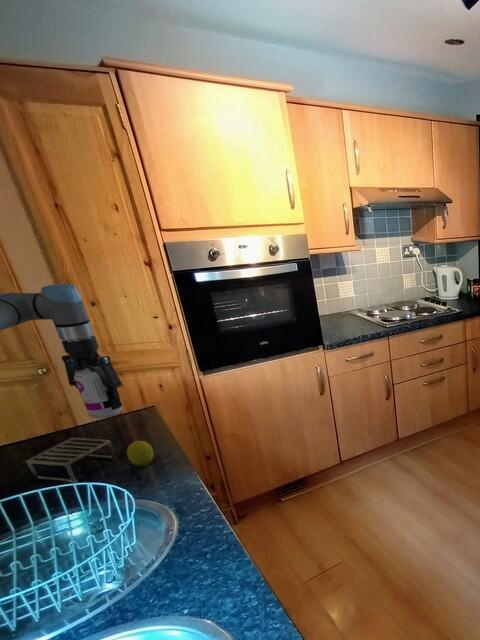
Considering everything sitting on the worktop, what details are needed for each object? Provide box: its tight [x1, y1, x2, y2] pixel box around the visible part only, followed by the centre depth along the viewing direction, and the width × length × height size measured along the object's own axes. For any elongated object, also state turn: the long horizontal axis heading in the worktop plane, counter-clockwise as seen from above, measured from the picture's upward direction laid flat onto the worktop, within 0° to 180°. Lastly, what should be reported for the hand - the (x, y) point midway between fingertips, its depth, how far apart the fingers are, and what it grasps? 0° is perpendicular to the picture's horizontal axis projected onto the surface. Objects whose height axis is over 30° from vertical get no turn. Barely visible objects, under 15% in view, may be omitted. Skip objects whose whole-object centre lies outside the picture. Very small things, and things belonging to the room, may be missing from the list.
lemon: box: [126, 440, 155, 467], centre depth 124 cm, size 6×6×8 cm
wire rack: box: [24, 436, 119, 484], centre depth 121 cm, size 12×12×7 cm
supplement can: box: [74, 366, 123, 419], centre depth 140 cm, size 8×8×15 cm
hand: (104, 406), depth 142 cm, fingers closed on supplement can, 8 cm apart
